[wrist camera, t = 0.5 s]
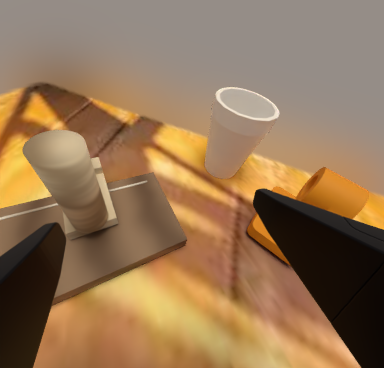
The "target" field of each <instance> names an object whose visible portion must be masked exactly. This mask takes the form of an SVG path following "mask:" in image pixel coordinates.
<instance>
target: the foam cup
mask: <svg viewBox="0 0 384 368" xmlns="http://www.w3.org/2000/svg"><path fill="white" fill-rule="evenodd" d="M211 110H212V116H211V123H210V129H209V136H208V143H207V149H206V156H205V168H206V170H207V171H208V173H210V174H211V175H213V176H214V177H217V178H220V179H229V178H231V177H232V176H234V174H235V173H236V172H237V171H238V170H239V168H240V167H241V166H242V164H243V163H244V162H245V161H246V159H247V158H248V157H249V155H250V154H251V153H252V152H253V150H254V149H255V148H256V146H257V145H258V144H259V143H260V141H261V140H262V139H263V137H264V136H265V135H266V134H267V133H269V132H270V130H271V128H272V126H273V125H274V123H275V121H276V120H277V118H278V115H279V113H280V112H279V110H278V108H277V107H276V105H275V104H273V103H272V102H271V101H270V100H268V99H267V98H265V97H263V96H261V95H259V94H257V93H255V92H251V91H249V90H245V89H242V88H233V87H228V88H221V89H220V90H218V91H217V92H216V93H215V97H214V101H213V104H212V108H211Z"/></svg>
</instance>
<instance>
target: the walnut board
mask: <svg viewBox="0 0 384 368" xmlns="http://www.w3.org/2000/svg"><path fill="white" fill-rule="evenodd" d="M106 184H107V188H108V191H109V194H110V198H111V201H112V204H113V207H114V211H115V214H116V217H117V221H118V224H116V225H113V226H110V227H107V228H104V229H101V230H98V231H95V232H92V233H89V234H86V235H83V236H80V237H77V238H74V239H71V240H70V239H69V238H68V236H67V235H66V233H65V225H64V217H63V211H62V209H61V208H60V207H59V205H58V204H57V202H56V201H55V199H54V198H53V196H52V197H47V198H43V199H39V200H35V201H31V202H26V203H22V204H18V205H14V206H10V207H5V208H1V209H0V256H1V255H3V254H4V253H5V252H7V251H8V250H10V249H11V248H12V247H14V246H15V245H17V244H18V243H19V242H21V241H22V240H23V239H25V238H26V237H28V236H29V235H30V234H32V233H33V232H35V231H36V230H37V229H39V228H40V227H41V226H43V225H44V224H47V223H53V222H58V223H59V224H60V226H61V228H62V230H63V232H64V234H65V236H66V247H65V253H64V258H63V264H62V270H61V275H60V279H59V283H58V286H57V290H56V293H55V296H54V299H53V303H52V305H55V304H57V303H59V302H61V301H63V300H66V299H68V298H70V297H72V296H74V295H77V294H79V293H81V292H83V291H85V290H88V289H90V288H92V287H94V286H96V285H99V284H101V283H103V282H105V281H107V280H110V279H112V278H114V277H116V276H118V275H121V274H123V273H125V272H127V271H129V270H132V269H134V268H136V267H138V266H140V265H143V264H145V263H147V262H149V261H151V260H154V259H156V258H158V257H160V256H162V255H165V254H167V253H169V252H171V251H173V250H176V249H178V248H180V247H182V246H184V245H185V244H186V241H187V238H186V236H185V234H184V232H183V230H182V228H181V226H180V224H179V222H178V220H177V218H176V216H175V214H174V212H173V210H172V208H171V206H170V204H169V202H168V200H167V198H166V196H165V194H164V192H163V191H162V189H161V187H160V185H159V183H158V181H157V179H156V177H155V175H154V173H149V174H144V175H140V176H136V177H132V178H128V179H123V180H119V181H115V182H111V183H106Z"/></svg>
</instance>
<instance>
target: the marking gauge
mask: <svg viewBox="0 0 384 368" xmlns="http://www.w3.org/2000/svg"><path fill="white" fill-rule="evenodd" d="M23 154H24V155H25V157H26V158H27V160H28V161H29V163H30V164H31V166H32V167H33V169H34V170H35V172H36V173H37V174H38V176H39V177H40V179H41V180H42V182H43V183H44V185H45V186H46V188H47V189H48V190H49V192H50V193H51V195H52V196H53V198H54V199H55V201H56V202H57V204H58V205H59V207H60V208H61V209H62V211H63V217H64V225H65V233H66V235H67V236H68V238H69V239H70V240H71V239H74V238H77V237H80V236H83V235H86V234H89V233H92V232H95V231H98V230H101V229H104V228H107V227H110V226H113V225H116V224H118V221H117V217H116V214H115V211H114V207H113V204H112V201H111V198H110V194H109V191H108V188H107V184H106V181H105V178H104V175H103V171H102V168H101V164H100V161H99V158H98V157H97V158H90V155H89V152H88V149H87V146H86V143H85V140H84V138H83V137H82V136H81V135H79V134H77V133H75V132H72V131H67V130H53V131H47V132H43V133H40V134H38V135H35V136H34V137H32V138H30V139H29V140H28V141H27V142H26V143H25V144H24V146H23Z"/></svg>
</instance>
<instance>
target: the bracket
mask: <svg viewBox="0 0 384 368" xmlns="http://www.w3.org/2000/svg"><path fill="white" fill-rule="evenodd" d="M272 191H273V192H276V193H279V194H281V195H284V196H287V197H290V198H293V199H296V200H298V201H301V202H304V203H307V204H310V205H313V206H315V207H318V208H321V209H324V210H327V211H330V212H332V213H335V214H338V215H341V216H342V217H343V216H344V217H347V218H350V219H353V218H354V217H355V216H356V215H357V214H358V213H359V212H360V211H361V210H362V209H363V207H364V206H365V204H366V203H367V201H368V198H369V192H368V190H366V189H364V188H362V187H361V186H359V185H357V184H355V183H353V182H351V181H350V180H348V179H346V178H344V177H342V176H340V175H338V174H337V173H335V172H332V171H331V170H329V169H327V168H326V167H323V168H321V169H320V170H318V171H317V172H316V173H315V174H314V175H313V176H312V177H311V178H310V179H309V180H308V181H307V183H306V184H305V185H304V186H303V188H302V189H301V190H300V192H299V193H298V195H297V197H295V196H293V195H292V194H290V193H289V192H287V191H285V190H284V189H282V188H280V187H274V188H273V190H272ZM247 232H248V234H249V235H250V236H251V237H252V238H254V239H255V240H256V241H258V242H259V243H260V244H262V245H263V246H264V247H266V248H267V249H268V250H270V251H271V252H272V253H274V254H275V255H276V256H278V257H279V258H281V259H282V260H283V261H285V262H286V263H287V264H289V265H290V263H289V262H288V261H287V259H286V258H285V256H284V255H283V253H282V252H281V250H280V249H279V248H278V246H277V245H276V243H275V242H274V240H273V239H272V237H271V236H270V235H269V233H268V231H267V230H266V228H265V226H264V225H263V223H262V221H261V219H260V217H259V215H258V214H257V212H256V214H255V216H254V217H253V219H252V220H251V222H250V225H249V226H248V228H247ZM290 266H291V265H290Z"/></svg>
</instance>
